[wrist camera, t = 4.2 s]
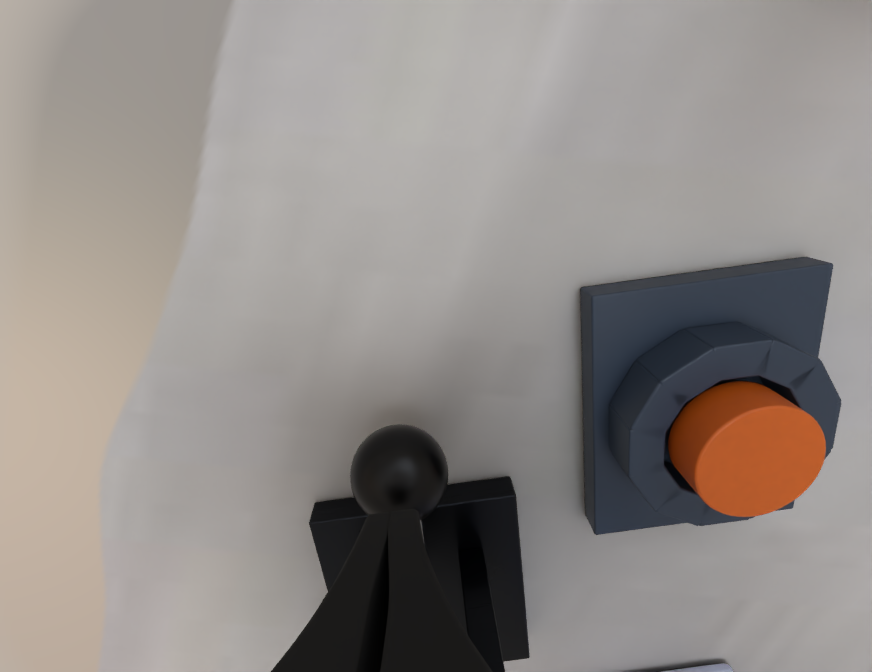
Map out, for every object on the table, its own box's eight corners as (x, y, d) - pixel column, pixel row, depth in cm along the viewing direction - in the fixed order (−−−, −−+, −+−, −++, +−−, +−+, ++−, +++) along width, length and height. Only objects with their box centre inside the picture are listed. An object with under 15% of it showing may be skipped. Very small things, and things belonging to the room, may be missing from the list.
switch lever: (353, 425, 18) (335, 440, 14) (441, 413, 18) (441, 425, 14) (393, 736, 17) (382, 823, 14) (483, 724, 17) (493, 808, 14)
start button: (777, 475, 17) (816, 509, 15) (664, 490, 17) (691, 525, 15) (792, 372, 16) (837, 397, 14) (669, 388, 16) (699, 416, 14)
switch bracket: (314, 501, 20) (255, 708, 12) (510, 475, 20) (568, 666, 12) (355, 656, 23) (328, 893, 15) (524, 633, 23) (576, 860, 15)
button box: (772, 489, 20) (830, 543, 18) (584, 515, 20) (612, 572, 18) (806, 256, 17) (885, 276, 14) (579, 287, 17) (612, 313, 14)
